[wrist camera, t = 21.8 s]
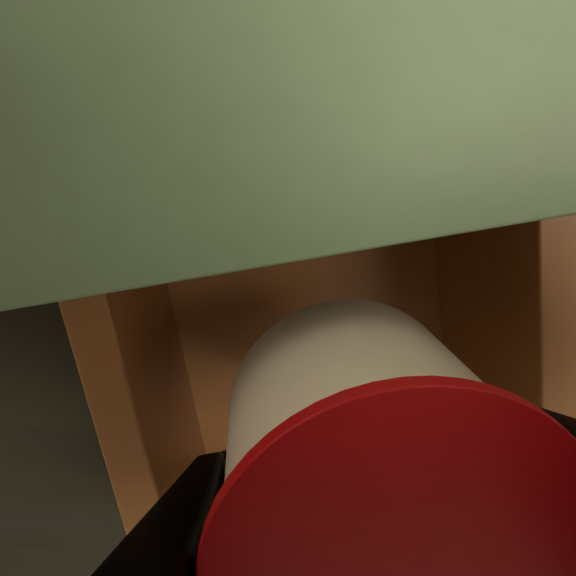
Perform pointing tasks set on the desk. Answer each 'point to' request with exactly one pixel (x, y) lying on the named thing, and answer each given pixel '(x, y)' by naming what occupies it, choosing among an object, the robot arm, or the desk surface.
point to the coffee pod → (384, 459)
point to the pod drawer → (297, 295)
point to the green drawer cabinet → (270, 132)
